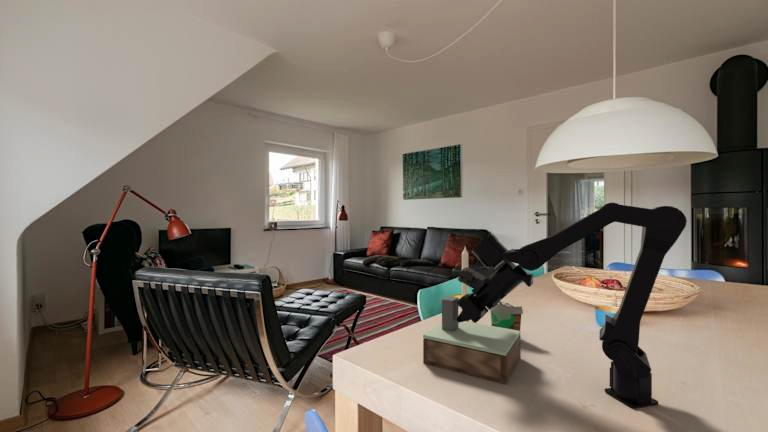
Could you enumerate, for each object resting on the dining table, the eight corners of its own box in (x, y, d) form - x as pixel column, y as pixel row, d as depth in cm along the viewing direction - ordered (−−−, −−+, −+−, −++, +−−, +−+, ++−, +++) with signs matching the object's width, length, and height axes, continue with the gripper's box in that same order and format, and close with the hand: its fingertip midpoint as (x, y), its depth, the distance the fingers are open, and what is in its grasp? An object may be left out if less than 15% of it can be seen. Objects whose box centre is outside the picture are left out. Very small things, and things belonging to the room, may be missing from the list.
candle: (482, 332, 107) (482, 247, 107) (450, 330, 108) (450, 246, 108) (478, 322, 117) (478, 244, 116) (449, 320, 118) (449, 243, 118)
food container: (479, 329, 109) (479, 298, 109) (495, 327, 111) (495, 297, 111) (506, 343, 97) (506, 308, 97) (523, 340, 99) (523, 306, 99)
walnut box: (520, 358, 87) (520, 335, 87) (505, 384, 74) (505, 357, 74) (447, 342, 98) (447, 321, 98) (423, 363, 85) (423, 339, 84)
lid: (520, 333, 87) (520, 300, 87) (505, 355, 74) (505, 315, 74) (447, 320, 98) (447, 290, 98) (423, 338, 84) (423, 303, 84)
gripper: (488, 254, 93) (450, 289, 99) (465, 262, 77) (422, 303, 83) (518, 286, 89) (477, 320, 95) (501, 301, 73) (452, 342, 79)
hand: (458, 320), depth 88 cm, fingers closed
